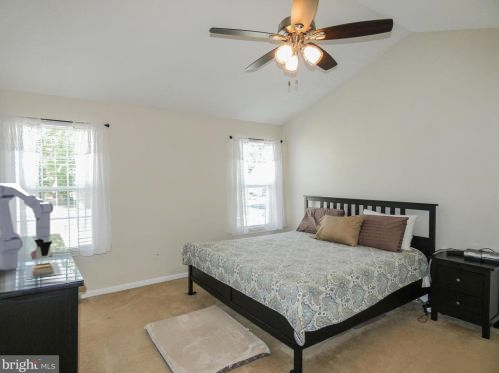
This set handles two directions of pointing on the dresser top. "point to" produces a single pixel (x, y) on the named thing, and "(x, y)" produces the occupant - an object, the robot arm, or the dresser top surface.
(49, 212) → the robot arm
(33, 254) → the video game controller
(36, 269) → the blueprint board
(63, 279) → the dresser top surface
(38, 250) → the sage block
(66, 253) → the dresser top surface
